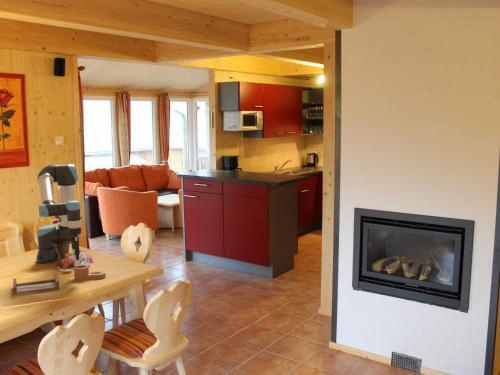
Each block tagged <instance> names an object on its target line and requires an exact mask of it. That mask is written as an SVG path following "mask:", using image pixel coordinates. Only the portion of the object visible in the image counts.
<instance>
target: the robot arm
mask: <svg viewBox="0 0 500 375" xmlns="http://www.w3.org/2000/svg"><path fill="white" fill-rule="evenodd" d="M36 178H37V179H36V180H37V184H38V185H39V191H40V200H41V203H40V204H39V205H38V214H39V217H41V218H42V217H44V218H48V217H55V216H59V217H60V216H61V217H60V218H61V219H62V222H61V223H60V222H59V223H60V224H59V223H58V225H59V227H58V226H56V224H47V225H44V226H41V227H39V228H38V229H37V235H36V236H37V246H38V247H37V248H38V250H37V255H36V257H35V262H36V263H39V264H51V263H56V262H59V261H60V260H61V256H60V254H59V252H58V249H57V244H65V243H71V254H72V258H73V260H75V266H77V265H80V250H81V249H80V236H81V234H82V227H81V226H82V219H81V218H82V216H81V203H80V201H79V200H75V186H76V185H77V182H78V181H79V175H78V172H77V167H76V165H75V164H73V163H72V164H71V163H70V164H69V163H64V164H63V163H62V164H61V163H60V164H48V165H46V166H44V167H43V168H42V169H41V170H40V171H39V173H38V175H37V177H36ZM54 183H57V186H58V187H59V191H60V192H59V194H60V195H59V196H60V203H56V199H55V192H54V185H53V184H54Z"/></svg>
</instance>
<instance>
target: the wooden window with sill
mask: <svg viewBox="0 0 500 375" xmlns="http://www.w3.org/2000/svg"><path fill="white" fill-rule="evenodd" d="M12 283H13V284H12V287H13V288H12V290H13V297H17V296H24V295H32V294H38V293H45V292H52V291H53V292H54V291H60V279H59V276H58V273H54V274H53V278H51V279H44V280H43V279H42V280H36V281H27V282H20V283H17V278H13V280H12Z"/></svg>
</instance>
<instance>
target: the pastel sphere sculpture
mask: <svg viewBox="0 0 500 375" xmlns="http://www.w3.org/2000/svg"><path fill="white" fill-rule="evenodd" d="M79 250H80V265H88V266H89V269H90V268H91V267H92V264H93V263H95V262H94V258H93V257H92V254H91V252H89V253H88V254H85V251H84V250H83V249H79ZM63 257H64V258H62V259H61V261H60V262H58V263H56V265H55V266H54V267H55V268H57V269H58V270H59V271H61V272H63V273H66V272H71V273H72V272H74V267H75V260H73V258H72V252H71V253H70V252H69V253H66V254H65V255H64V256H63Z"/></svg>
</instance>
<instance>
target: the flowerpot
mask: <svg viewBox="0 0 500 375" xmlns="http://www.w3.org/2000/svg"><path fill="white" fill-rule="evenodd" d="M54 218H55V220H53V221H52V225H56V224H58V226H57V227H59V224H60V223H61V222H62V219H61V216H54ZM70 245H72V243H65V244H57V249H58V252H59V254H60V257H65V256H64V255H65V254H66V253H70Z"/></svg>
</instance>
